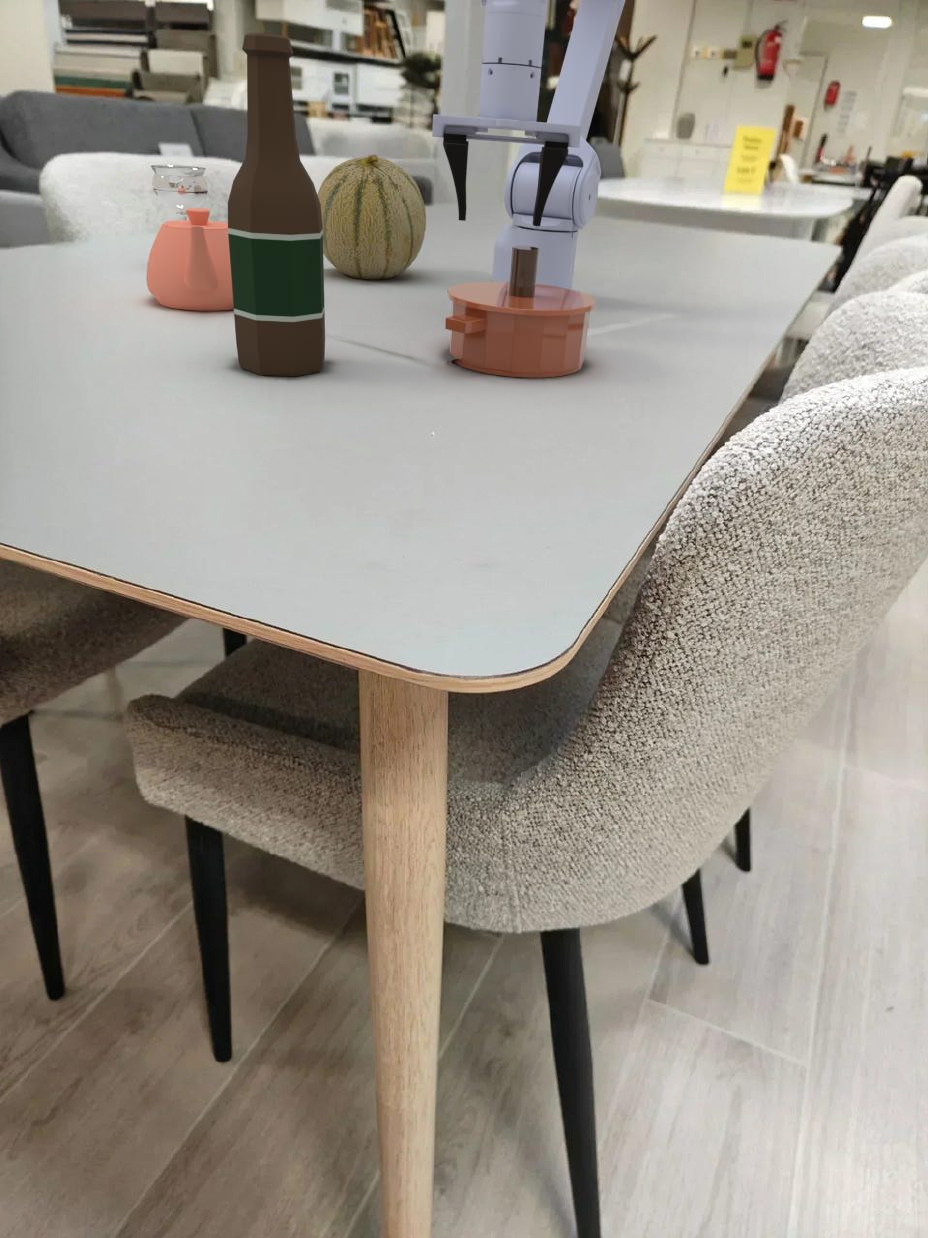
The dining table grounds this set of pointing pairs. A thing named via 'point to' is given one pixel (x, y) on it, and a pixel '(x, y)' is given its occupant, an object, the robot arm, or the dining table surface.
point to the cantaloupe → (371, 218)
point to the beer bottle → (275, 228)
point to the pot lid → (522, 292)
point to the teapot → (191, 264)
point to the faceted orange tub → (517, 342)
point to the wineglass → (180, 187)
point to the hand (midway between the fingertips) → (499, 222)
